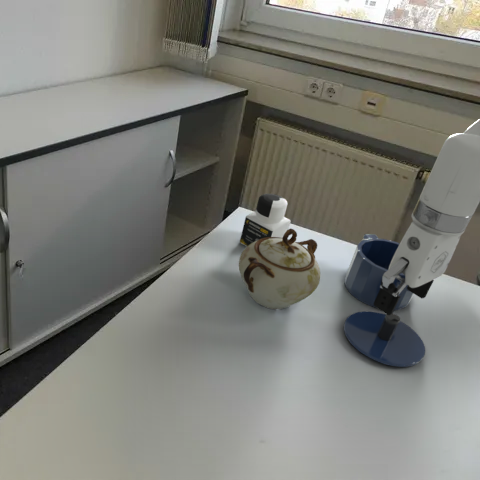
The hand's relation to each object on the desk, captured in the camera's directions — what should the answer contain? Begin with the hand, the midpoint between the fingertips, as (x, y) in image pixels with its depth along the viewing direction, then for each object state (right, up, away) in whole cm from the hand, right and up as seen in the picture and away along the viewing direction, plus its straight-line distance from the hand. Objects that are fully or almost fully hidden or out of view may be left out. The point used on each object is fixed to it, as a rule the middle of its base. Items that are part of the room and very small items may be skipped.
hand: (399, 301), depth 92 cm
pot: (+5, 0, +18) cm, 19 cm away
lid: (0, -7, +5) cm, 9 cm away
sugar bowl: (-18, -1, +14) cm, 23 cm away
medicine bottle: (-16, +9, +29) cm, 34 cm away
